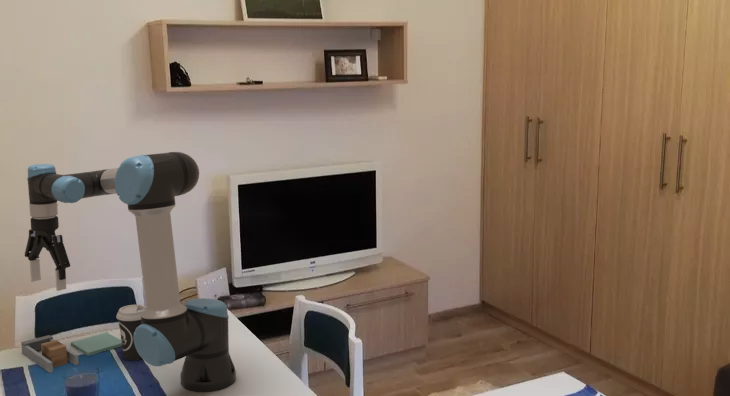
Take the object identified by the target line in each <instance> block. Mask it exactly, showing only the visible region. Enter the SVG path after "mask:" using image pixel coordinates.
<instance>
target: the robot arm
mask: <svg viewBox="0 0 730 396" xmlns="http://www.w3.org/2000/svg"><path fill="white" fill-rule="evenodd" d="M199 178H200V168H199V166H198V164H197V162H196V160H195V159H194V158H193V157H192V156H191V155H189V154H187V153H184V152H180V151H169V152H162V153H161V152H160V153H152V154H151V153H150V154H141V155H136V156H131V157H128V158H125V159H124V160H123V161H122V162H121V163H120V165H119V167H115V168H106V169H100V170H91V171H85V172H78V173H69V174H58V173H57V171H56V167H55V166H54V164H51V163H39V164H38V163H35V164H32V165H29V166H28V167H27V178H26V180H27V187H28V190H27V191H28V198H29V199H28V200H29V216H30V217H31V218H30V229H29V230H28V238H27V244H26V246H25V252H24V257H25V258H27V259H28V261H29V269H30V271H29V272H30V282H31V283H34V282H37V281H41V279H42V277H41V264H40V263H41V262H40V261H41V260H40V258H41V257H40V253H41V252H42V250H43V248H45V250H46V251H47V252H49V255H50V256H51V258H52V261H53V263H54V264H55V268H54V270H55V272H54V273H55V288H56V290H55V291H57V292H59V291H63V290H66V289H67V275H66V273H67V272H66V269H67V268H70V267H71V263H70V260H69V256H68V254H67V251H66V248H65V244H64V241H63V240H64V239H63V238H64V237H63V234H58V235H57V234H56V230H58V229H59V227H60V226H59V225H60V223H59V217H58V216H57V215H58V214H59V213H58V206H59V204H58V202H61V203H65V204H74V203H78V202H79V201H80V200H82V199H87V198H88V199H89V198H93V197H100V196H107V195H115V194H116V196H118V198H119V200H120V201H121V202H122V203H124V204H126V205H127V209H128V212H130V213H131V214H132V215H133V216H134V217H135V223H136V226H135V227H136V233H137V242H138V249H139V259H140V267H141V274H142V276H141V277H142V282H143V283H142V284H143V293H144V301H145V306H146V308H145V310H144V311H143V312H142V313H141V321H142V324H141V325H139V326H138V327H137V328H136V330H135V332H134V336H133V339H134V344H135V347H136V350H137V352H138V353H139V355H140V356H141V357H142V360H143V361H144V362H145V363H147V364H148V365H150V366H153V367H158V368H159V367H163V366H166V365H170V364H173V363H174V362H177V361H178V360H181V359H183V358H184V362H183V365H182V368H181V371H180V384H181V386H182V387H183V388H185V389H186V390H189V391H193V392H213V391H219V390H222V389H225V388H228V387H230V386H231V385H232V384H234V383H235V382H236V378H237V375H236V368H235V364H234V363H233V359H232V357H231V354H230V351H229V350H230V349H229V348H230V347H229V342H230V341H229V315H228V305H227V304H226V303H225V302H223V301H222V300H220V299H215V298H207V297H206V298H204V297H203V298H191V299H187V300H185V301H184V304H183V303H182V302H181V296H180V289H179V288H180V287H179V280H178V270H177V262H176V253H175V244H174V235H173V234H174V233H173V227H172V218H171V212H172V210H173V209H174V208H175V207H176V199H175V198H176V197H177V196H179V197H180V196H182V195H185V194H187V193H189V192H191V191H192V190H193V189H194V188H195V187H196V186H197V184H198V182H199Z"/></svg>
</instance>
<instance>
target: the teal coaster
mask: <svg viewBox="0 0 730 396" xmlns="http://www.w3.org/2000/svg"><path fill="white" fill-rule="evenodd" d="M70 347H73V348H74V349H76V350H78V351H80V352H81V353H82V354H84V355H85V356H88V357H90V356H93V355H96V354H100V353H103V351H104V352H107V351H110V349H111V350H113V349H116V348H121V347H122V341H121V338H118V337H116V336H114V335H112V334H111V333H109V332H103V333H100V334H95V335H93V336H89V337H85V338H82V339H81V338H80V339H78V340H74V341H70ZM106 350H107V351H106Z"/></svg>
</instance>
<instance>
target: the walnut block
mask: <svg viewBox="0 0 730 396" xmlns="http://www.w3.org/2000/svg"><path fill="white" fill-rule="evenodd" d="M66 347H67V345H65V344H64V343H63V342H60V341H59V340H57V339H54V341H50V342H46V343H42V344H41V355H43V356H44V357H46V358H47V359H49V360H50V361H51V362H52V364H53V369H54V368H57V367H61V366H63V365H68V360H67V348H68V347H67V348H66Z"/></svg>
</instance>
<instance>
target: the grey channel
mask: <svg viewBox="0 0 730 396" xmlns="http://www.w3.org/2000/svg"><path fill="white" fill-rule="evenodd" d="M54 340H55V339H54V337H53V336H52V335H50V334H48V335H44V336H40V337H35V338H32V339H28V340H25V341H21V342H20V345H21V354H22V355H23V356H25V357H26V358H28V359H29V360H31V361H32V362H34V363H35V364H36V365H37V366H39V367H40V368H42V369H43V370H44V371H46V372H48V373H49V374H50V373H53V372H54V368H53V364H52V362H51V361H50V360H49V359H47V358H46V357H44V356H43V355H42V353H40V352H39V351H40V350H41V344H42V343H46V342H50V341H54ZM66 348H67V362H69V363H71V364H73V366H74V365H75V366H78V365H79V363H80V362H79V354H78V353H76V352H75V351H73V350H71V349H69V348H68V347H67V346H66Z"/></svg>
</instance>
